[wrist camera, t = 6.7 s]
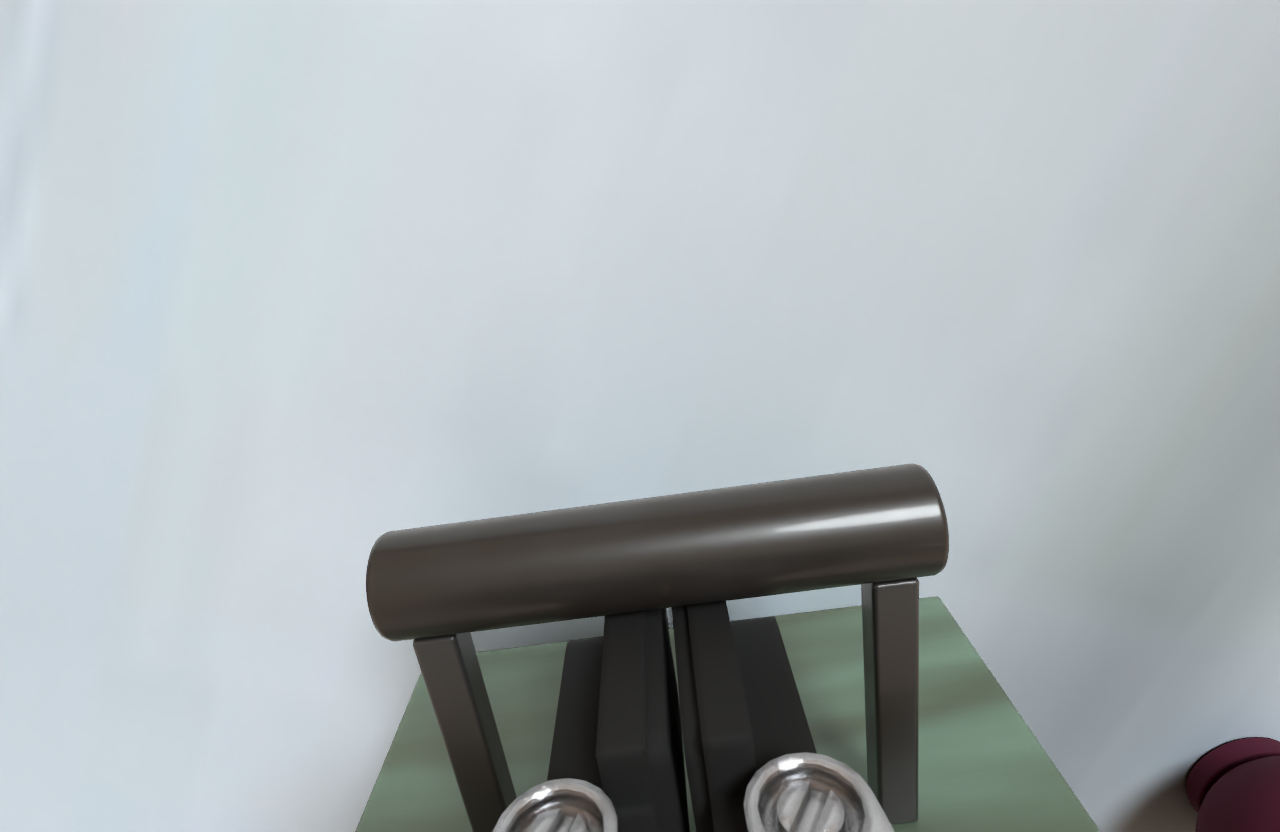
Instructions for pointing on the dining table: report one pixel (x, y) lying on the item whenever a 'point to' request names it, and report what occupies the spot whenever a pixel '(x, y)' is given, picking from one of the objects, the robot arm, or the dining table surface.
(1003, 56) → the dining table surface
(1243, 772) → the mangosteen
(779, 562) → the drawer
